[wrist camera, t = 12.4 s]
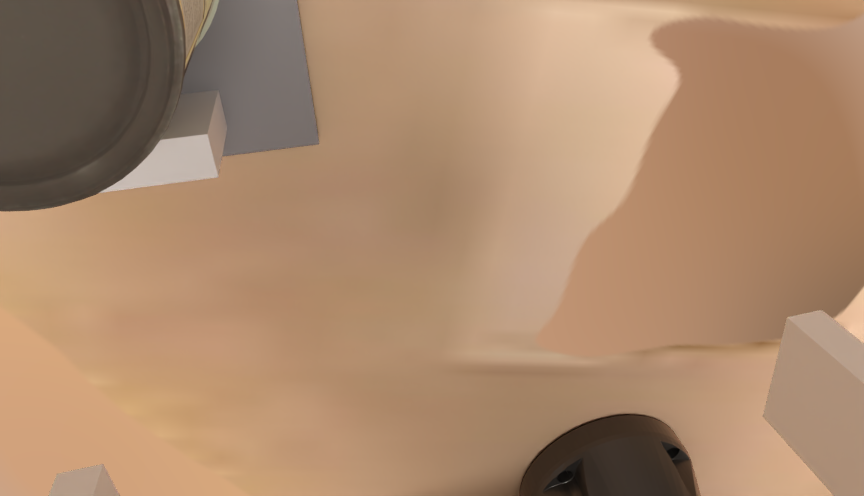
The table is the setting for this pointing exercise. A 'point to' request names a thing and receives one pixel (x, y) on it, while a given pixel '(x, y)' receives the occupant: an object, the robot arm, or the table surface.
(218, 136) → the holder
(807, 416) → the robot arm
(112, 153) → the coffee can
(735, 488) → the table surface
